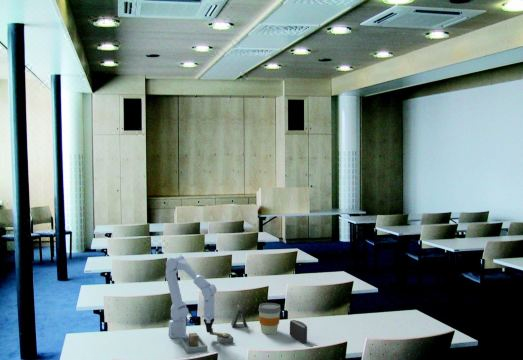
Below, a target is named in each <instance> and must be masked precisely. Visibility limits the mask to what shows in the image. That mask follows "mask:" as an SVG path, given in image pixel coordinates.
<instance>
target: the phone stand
mask: <svg viewBox="0 0 523 360" xmlns="http://www.w3.org/2000/svg"><path fill="white" fill-rule="evenodd" d="M235 306H236V310H235V312H234V315H233V317H232V321H231V323H230V325H231V327H232V329H236V328H237V329H241V328H243V329H244V328H249V327H248V324H247V321H246V318H245V316H244V308H243V307H242V305H241V304H237V305H235ZM239 315H240V317H241V320H242V323H238V319H239Z"/></svg>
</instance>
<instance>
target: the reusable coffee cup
mask: <svg viewBox="0 0 523 360" xmlns="http://www.w3.org/2000/svg"><path fill="white" fill-rule="evenodd" d="M281 311H282V310H281V305H280V304H278V303H274V302H265V303H264V302H263V303H260V304H259V306H258V312H259V314H258V319H259V320H258V321H259V324H260V332H261V333H262V334H265V335H275V334H277V333H278V327H279V325H280V319H281V314H280V313H281Z"/></svg>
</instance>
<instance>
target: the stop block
mask: <svg viewBox="0 0 523 360" xmlns="http://www.w3.org/2000/svg"><path fill="white" fill-rule="evenodd" d="M188 337H189V346H190V347H198V342H199V335H198V333H197V332H193V333H192V332H191V333H188Z"/></svg>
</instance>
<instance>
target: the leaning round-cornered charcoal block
mask: <svg viewBox="0 0 523 360" xmlns="http://www.w3.org/2000/svg"><path fill="white" fill-rule="evenodd" d="M289 336H290V337H291V338H293V339H295V340H296V341H299V342H300V343H301V344H303V345H306V344H307V342H308V325H307V324H305V323H304V322H302V321H299V320H296V319H292V320H289Z"/></svg>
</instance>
